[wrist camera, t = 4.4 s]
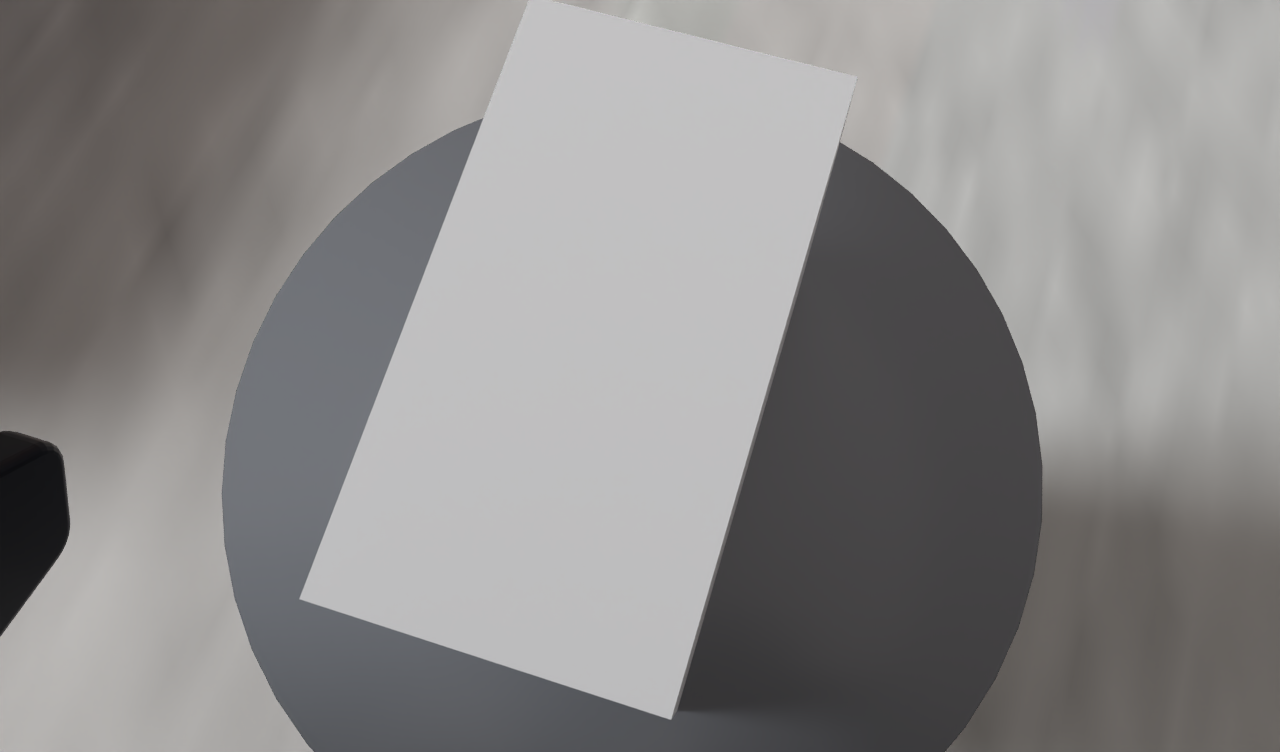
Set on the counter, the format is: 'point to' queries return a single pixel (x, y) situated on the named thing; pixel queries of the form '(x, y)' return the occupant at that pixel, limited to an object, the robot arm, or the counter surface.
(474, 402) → the gray bottle
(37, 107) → the counter surface
